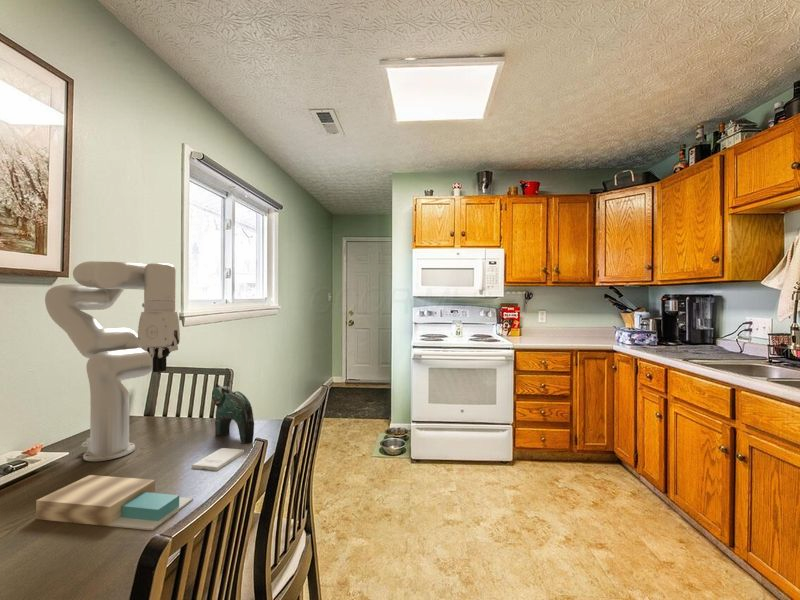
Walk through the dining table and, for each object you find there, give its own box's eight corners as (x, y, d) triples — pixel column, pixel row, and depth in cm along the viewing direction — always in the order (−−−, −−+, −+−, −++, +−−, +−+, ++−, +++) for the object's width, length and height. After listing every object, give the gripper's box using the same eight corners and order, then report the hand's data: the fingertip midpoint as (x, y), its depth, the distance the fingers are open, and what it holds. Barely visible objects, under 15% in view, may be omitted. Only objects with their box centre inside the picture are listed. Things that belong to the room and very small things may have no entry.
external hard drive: (243, 454, 116) (217, 472, 104) (220, 452, 118) (191, 470, 105) (244, 449, 116) (217, 466, 104) (220, 447, 118) (191, 464, 105)
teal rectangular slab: (121, 517, 80) (121, 506, 80) (144, 502, 86) (144, 492, 86) (158, 521, 79) (158, 509, 79) (179, 505, 85) (179, 495, 85)
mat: (109, 526, 78) (109, 524, 78) (155, 496, 90) (155, 494, 90) (152, 530, 76) (152, 528, 76) (193, 499, 88) (193, 498, 88)
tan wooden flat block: (36, 519, 80) (36, 500, 80) (89, 491, 92) (89, 475, 92) (109, 526, 78) (109, 506, 78) (155, 496, 90) (155, 479, 90)
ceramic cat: (209, 434, 132) (209, 378, 132) (226, 429, 137) (227, 375, 137) (242, 447, 121) (242, 385, 121) (259, 441, 126) (259, 381, 126)
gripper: (125, 307, 104) (124, 373, 104) (173, 307, 102) (173, 374, 102) (147, 306, 111) (146, 368, 111) (192, 306, 109) (192, 369, 109)
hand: (159, 371), depth 107 cm, fingers closed
